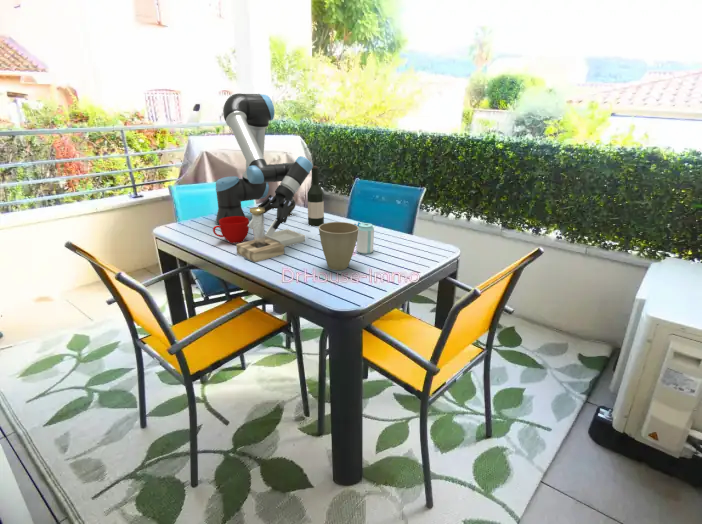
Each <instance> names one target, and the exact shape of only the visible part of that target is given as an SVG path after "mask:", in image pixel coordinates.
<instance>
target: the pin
mask: <svg viewBox="0 0 702 524" xmlns="http://www.w3.org/2000/svg"><path fill="white" fill-rule="evenodd" d="M264 212H265V208H263V207H258V206H254V207H250V208H249V213H250V214H251V220H252V222H253V230H252V231H253V240H254V246H255V247H256V248H260V247H264V246H266V244H265V234H266V232H265V218H264V214H265V213H264ZM263 213H264V214H263Z"/></svg>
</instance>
